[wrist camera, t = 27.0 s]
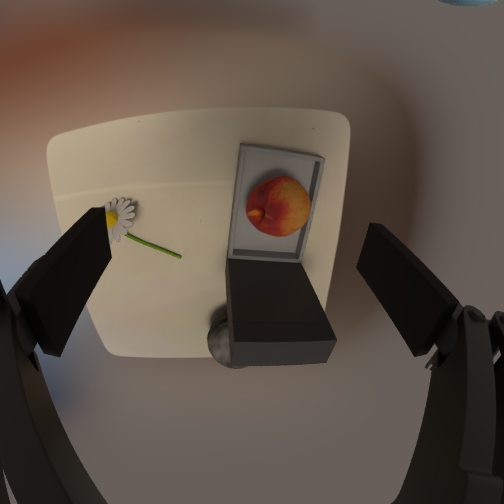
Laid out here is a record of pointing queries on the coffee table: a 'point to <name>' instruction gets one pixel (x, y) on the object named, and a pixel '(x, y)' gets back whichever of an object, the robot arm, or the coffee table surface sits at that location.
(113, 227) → the decorative flower
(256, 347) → the tray with tall back
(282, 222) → the fruit
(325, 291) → the coffee table surface
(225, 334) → the decorative stone
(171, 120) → the coffee table surface
